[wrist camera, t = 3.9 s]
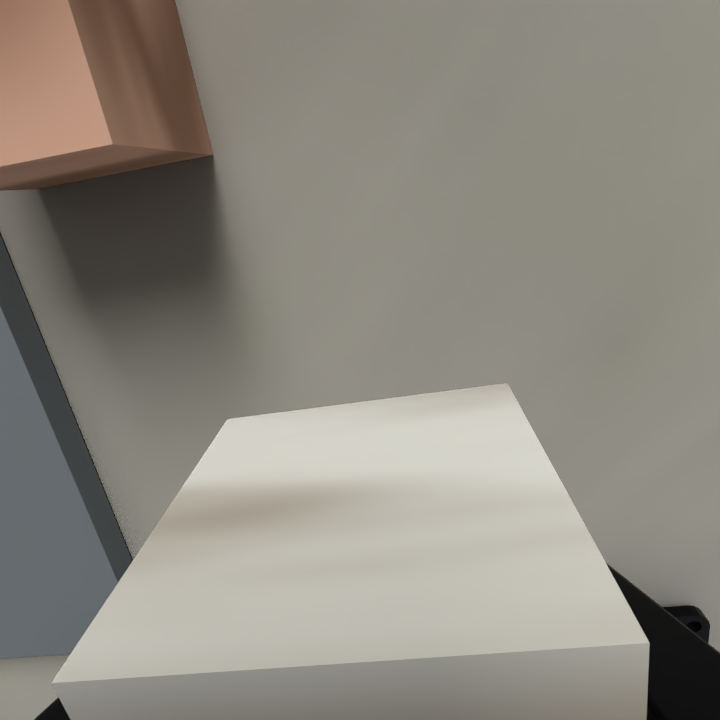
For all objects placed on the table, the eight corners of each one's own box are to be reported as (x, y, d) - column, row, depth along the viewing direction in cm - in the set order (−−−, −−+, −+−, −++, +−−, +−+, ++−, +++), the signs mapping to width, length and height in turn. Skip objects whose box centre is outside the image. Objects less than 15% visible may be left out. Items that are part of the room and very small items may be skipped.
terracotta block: (214, 155, 13) (112, 144, 8) (39, 189, 13) (-150, 196, 9) (155, -82, 11) (-15, -266, 6) (-43, -32, 12) (-330, -168, 7)
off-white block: (523, 605, 10) (636, 976, 5) (287, 624, 11) (205, 971, 6) (507, 382, 8) (648, 642, 4) (227, 419, 9) (50, 683, 4)
